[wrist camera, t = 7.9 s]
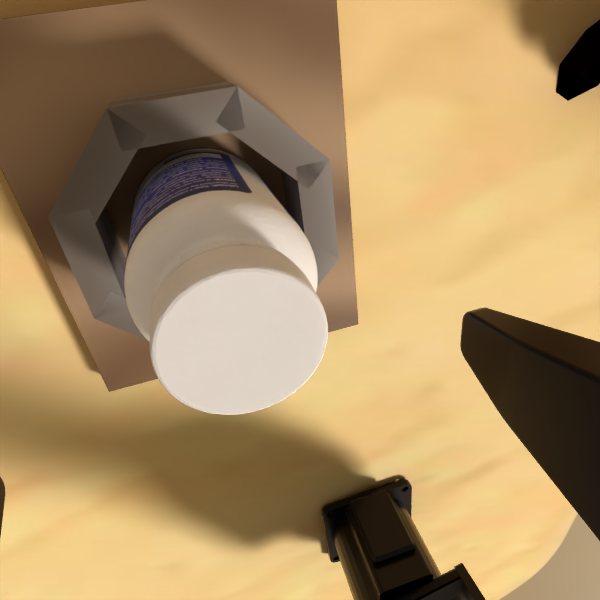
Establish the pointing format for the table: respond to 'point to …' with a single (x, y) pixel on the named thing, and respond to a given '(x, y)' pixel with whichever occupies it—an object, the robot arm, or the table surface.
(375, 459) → the table surface
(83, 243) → the collar board
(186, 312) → the pill bottle
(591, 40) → the cat figurine
